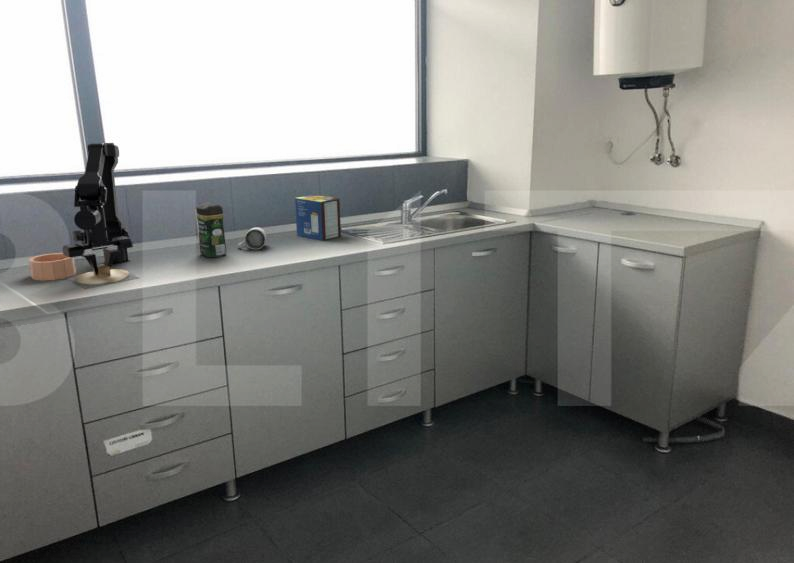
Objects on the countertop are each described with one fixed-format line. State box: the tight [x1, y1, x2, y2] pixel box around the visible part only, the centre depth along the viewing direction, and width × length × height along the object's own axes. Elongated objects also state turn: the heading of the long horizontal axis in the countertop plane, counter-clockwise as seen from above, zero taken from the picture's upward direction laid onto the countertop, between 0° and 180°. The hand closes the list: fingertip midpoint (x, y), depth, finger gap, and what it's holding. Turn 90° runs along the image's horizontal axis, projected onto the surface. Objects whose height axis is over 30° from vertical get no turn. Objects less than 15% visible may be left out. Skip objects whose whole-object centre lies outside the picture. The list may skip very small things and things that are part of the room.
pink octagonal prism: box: [28, 252, 77, 282], centre depth 196 cm, size 12×12×6 cm
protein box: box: [294, 194, 342, 241], centre depth 251 cm, size 10×15×16 cm
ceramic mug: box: [237, 226, 268, 251], centre depth 233 cm, size 11×8×8 cm
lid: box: [75, 263, 130, 285], centre depth 192 cm, size 15×15×4 cm
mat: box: [65, 268, 140, 290], centre depth 193 cm, size 16×16×1 cm
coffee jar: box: [195, 201, 227, 258], centre depth 221 cm, size 10×8×19 cm
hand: (102, 273), depth 193 cm, fingers closed on lid, 3 cm apart
